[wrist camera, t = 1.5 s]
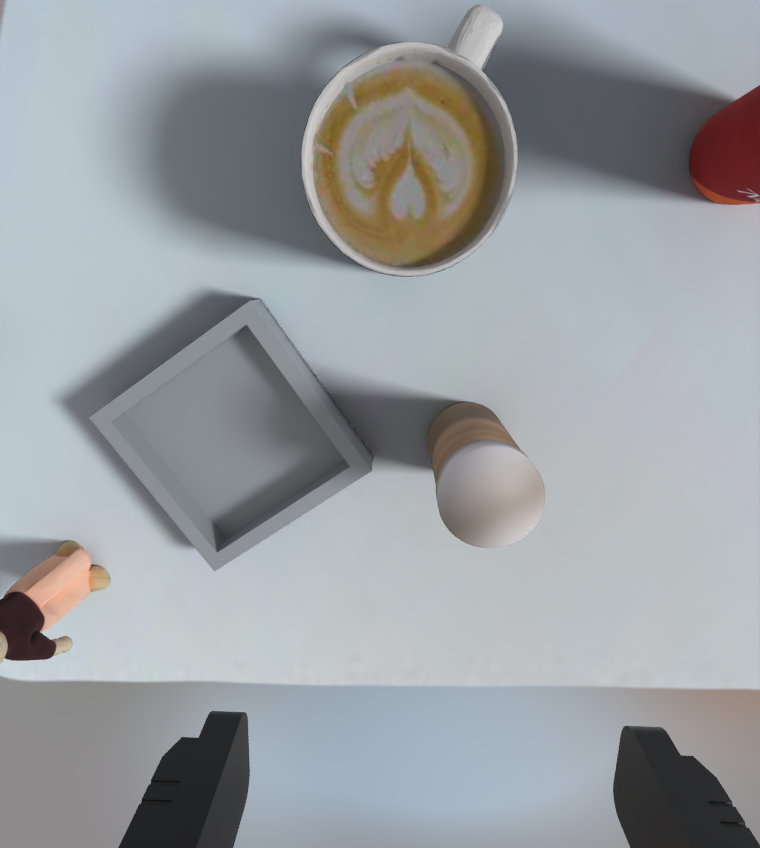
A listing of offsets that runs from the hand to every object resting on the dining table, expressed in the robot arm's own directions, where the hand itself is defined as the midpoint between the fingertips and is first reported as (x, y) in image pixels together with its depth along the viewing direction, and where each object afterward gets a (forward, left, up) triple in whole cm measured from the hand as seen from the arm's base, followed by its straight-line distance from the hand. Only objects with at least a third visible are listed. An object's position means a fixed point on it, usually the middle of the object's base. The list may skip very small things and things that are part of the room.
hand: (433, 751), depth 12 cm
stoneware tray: (-6, -10, -28) cm, 30 cm away
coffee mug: (-13, +10, -28) cm, 33 cm away
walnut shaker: (+3, +3, -28) cm, 29 cm away
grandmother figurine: (-5, -26, -28) cm, 39 cm away
